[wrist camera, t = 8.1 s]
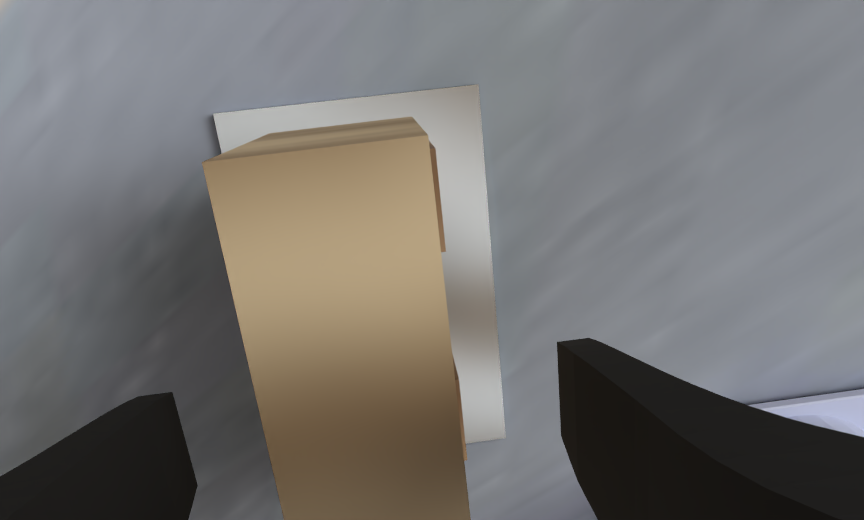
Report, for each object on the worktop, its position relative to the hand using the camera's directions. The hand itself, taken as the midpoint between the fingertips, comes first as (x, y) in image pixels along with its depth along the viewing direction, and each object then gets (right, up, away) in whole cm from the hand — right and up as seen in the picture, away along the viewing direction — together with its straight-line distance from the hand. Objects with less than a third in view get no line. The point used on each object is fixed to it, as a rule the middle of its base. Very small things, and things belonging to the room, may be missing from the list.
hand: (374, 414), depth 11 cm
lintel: (0, +1, +4) cm, 4 cm away
